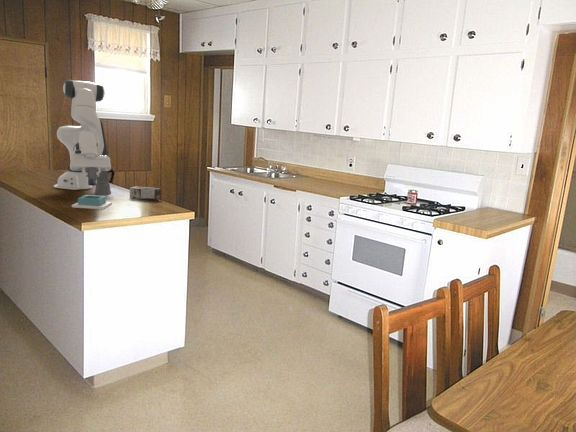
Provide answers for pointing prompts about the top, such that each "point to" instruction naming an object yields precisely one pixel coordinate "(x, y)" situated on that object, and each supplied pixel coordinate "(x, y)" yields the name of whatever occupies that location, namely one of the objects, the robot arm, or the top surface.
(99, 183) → the coffeepot
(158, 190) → the coffee box
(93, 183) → the steel pin
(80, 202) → the keeper board
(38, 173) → the top surface
